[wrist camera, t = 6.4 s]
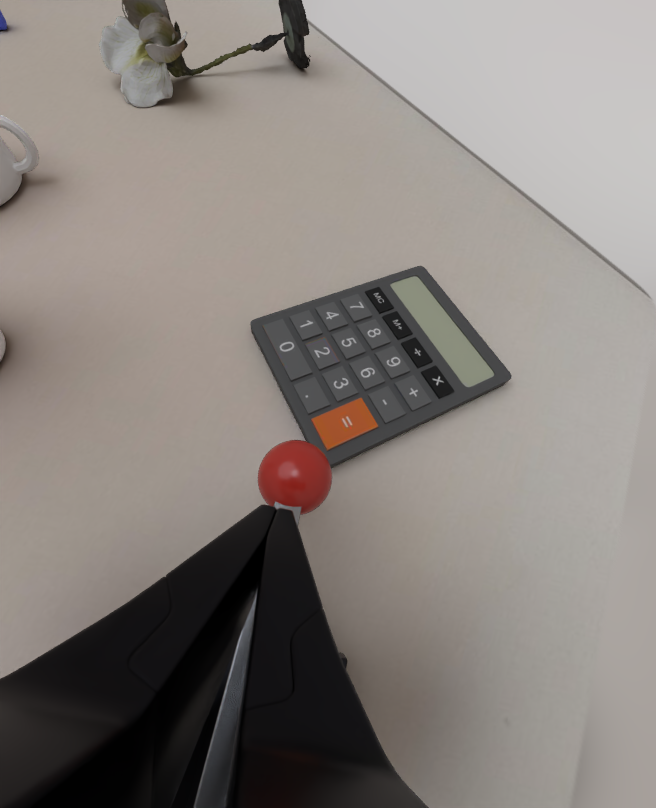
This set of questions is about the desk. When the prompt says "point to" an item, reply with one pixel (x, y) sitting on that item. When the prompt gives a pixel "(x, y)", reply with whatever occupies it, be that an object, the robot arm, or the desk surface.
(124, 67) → the artificial flower
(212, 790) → the lever
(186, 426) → the desk surface
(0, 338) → the drinking glass
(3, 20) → the eraser
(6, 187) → the mug
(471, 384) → the calculator
